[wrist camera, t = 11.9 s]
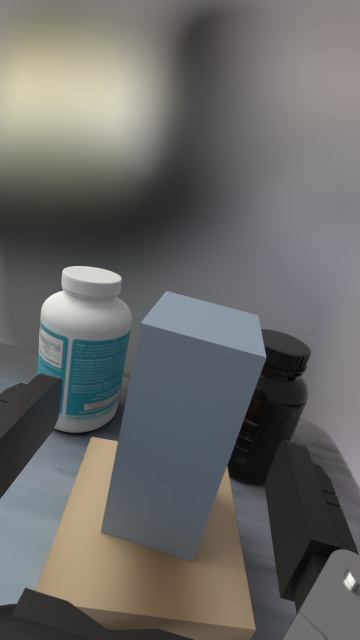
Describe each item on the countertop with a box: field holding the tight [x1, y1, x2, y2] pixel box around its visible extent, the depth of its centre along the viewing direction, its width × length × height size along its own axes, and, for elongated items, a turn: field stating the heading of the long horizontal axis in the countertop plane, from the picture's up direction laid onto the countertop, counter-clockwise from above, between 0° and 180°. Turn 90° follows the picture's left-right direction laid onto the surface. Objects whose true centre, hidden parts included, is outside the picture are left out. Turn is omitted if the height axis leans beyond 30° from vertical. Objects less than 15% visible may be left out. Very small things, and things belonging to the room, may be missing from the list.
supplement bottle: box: [227, 329, 311, 483], centre depth 28 cm, size 7×7×12 cm
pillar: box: [101, 291, 266, 562], centre depth 15 cm, size 4×4×11 cm
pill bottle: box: [37, 266, 132, 433], centre depth 29 cm, size 8×7×14 cm
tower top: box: [35, 437, 256, 640], centre depth 18 cm, size 9×9×3 cm
